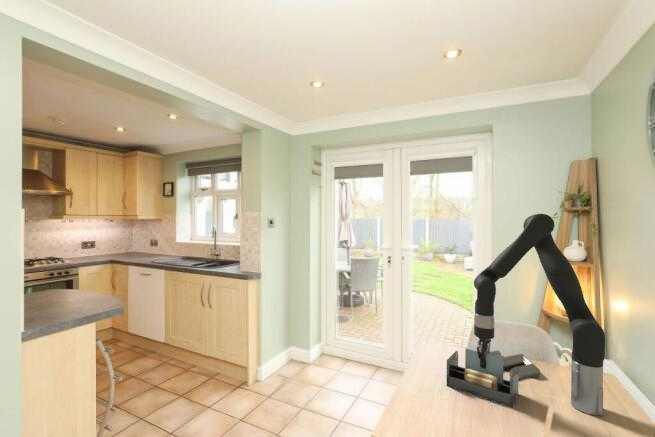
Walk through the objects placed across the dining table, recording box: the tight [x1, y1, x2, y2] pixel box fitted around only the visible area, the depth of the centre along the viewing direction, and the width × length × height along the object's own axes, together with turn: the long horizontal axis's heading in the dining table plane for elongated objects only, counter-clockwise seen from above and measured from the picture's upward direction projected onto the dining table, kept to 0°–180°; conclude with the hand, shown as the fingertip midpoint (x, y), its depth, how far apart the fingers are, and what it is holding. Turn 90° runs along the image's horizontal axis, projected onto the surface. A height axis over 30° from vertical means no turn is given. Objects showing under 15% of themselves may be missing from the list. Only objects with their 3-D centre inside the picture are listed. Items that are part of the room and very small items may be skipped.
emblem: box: [490, 350, 541, 381], centre depth 151 cm, size 28×5×28 cm
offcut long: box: [465, 368, 498, 391], centre depth 129 cm, size 12×2×7 cm, turn 51°
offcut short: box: [467, 374, 493, 389], centre depth 127 cm, size 9×2×6 cm, turn 51°
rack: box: [446, 350, 519, 409], centre depth 130 cm, size 24×12×12 cm, turn 51°
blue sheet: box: [464, 347, 505, 384], centre depth 133 cm, size 14×2×14 cm, turn 51°
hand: (483, 366), depth 133 cm, fingers closed on blue sheet, 2 cm apart
